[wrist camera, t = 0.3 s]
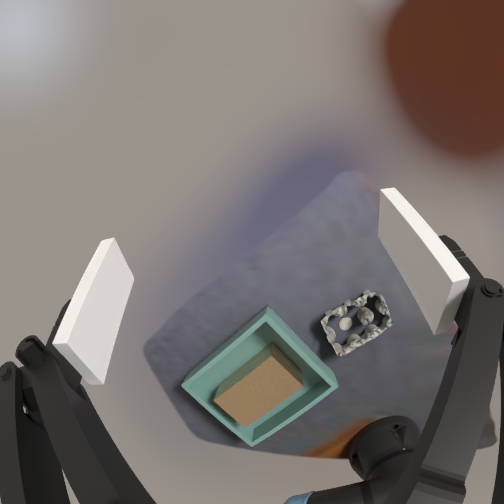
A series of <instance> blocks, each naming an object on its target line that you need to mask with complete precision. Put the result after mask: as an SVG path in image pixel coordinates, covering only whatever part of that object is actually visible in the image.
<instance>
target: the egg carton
mask: <svg viewBox="0 0 504 504" xmlns="http://www.w3.org/2000/svg"><path fill="white" fill-rule="evenodd" d="M362 294H363V297H359V298H358V299H357V300H355V301H352V302H351V301H350V300H348V301H346V302H344V305H343V306H340V307H338V308H337V309H335V310H334V311H331V310H329V311H327V312H325V315H326V316H325V317H324V318H323V319H322V320H321V324H322V325H323V327H324V331H325V333H326V334H327V339H328V341H329V343H331V344H332V343H333V342H334V341H335V339H336V334H335V332H334V330H333V329H332V328H331V327H325V326H326V325H327V322H328V318H329V317H330V316H331V315H335V316H337V317H341V316H343V315H346V313H347V307H346V306H351V303H352V306H356V307H361V306H364V305H365V304H366V303H367V297H371V298H372V297H373V295H374V296H378V299H377V300H376V302H375V308H376V309H377V310H378V311H379V312H380V313H382V314H383V315H386V316H385V317H384V318H383V320H382V325H380V326H378V327H377V326H376V325H374V324H371V325H368V324H369V323H371V322H372V321H373V318H374V315H373V312H372V311H370V310H369V309H368V308H366V307H362V308H360V309H359V311H358V313H357V317H358V319H359V320H360V321H361V323H362V324H363V325H364V326H367V325H368V326H367V327H366V328H365V333H364V334H363V335H361V336H360V337H359V336H358V335H357V334H352V335H350V336H349V337H348V338H347V343H346V344H345V345H342V346H341V345H340V344H338V343H335V344H332V346H333V348H334V350H335V352H336V354H337V356H338V357H341V356H342V355H346V354H347V353H349V352H352V351H353V350H355V349H356V348H357V347H358V346H361V345H363V344H365V343H366V342H368V341H370V340H372V339H374V338H376V337H377V336H378V335H380V334H381V333H382V332H383V331H384V330H386V328H387V327H390V326H392V325H393V322H392V320H391V317H390V314H389V311H388V308H387V305H386V303H385V300H384V298H383V295H382V293H381V292H380V291H377V292H373V293H371V292H370V291H368V290H366V291H364V292H363V293H362ZM351 326H352V320H351V319H350V318H347V317H345V318H342V319H341V320H340V322H339V327H340V329H342V330H348V329H350V328H351Z"/></svg>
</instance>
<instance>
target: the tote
mask: <svg viewBox="0 0 504 504" xmlns="http://www.w3.org/2000/svg"><path fill="white" fill-rule="evenodd" d="M272 341H273V342H274V343H275V344H276V345H277V346H278V347H279V348H280V349H281V350H282V351H283V352H284V353H285V354H286V355H287V356H288V357H289V358H290V359H291V360H292V361H293V362H294V363H295V364H296V365H297V366H298V367H299V368H300V369H301V371H302V379H303V387H302V388H301V389H299V390H298V391H297V392H296V393H294V394H293V395H291V396H290V397H289V398H287V399H286V400H285V401H283V402H282V403H281V404H279V405H278V406H276V407H275V408H274V409H272V410H271V411H269V412H268V413H266V414H265V415H264V416H262V417H261V418H259V419H258V420H256V421H255V422H253V423H252V424H250V425H249V426H247V427H246V428H244V427H243V426H242V425H241V424H240V423H238V422H237V421H236V420H235V419H234V418H233V417H231V416H230V415H229V414H228V413H227V412H226V411H224V410H223V409H222V408H221V407H220V406H219V405H218V404H217V403H215V402H214V401H213V400H214V398H215V395H216V393H217V390H218V388H219V385H220V383H221V382H222V381H224V380H225V379H226V378H228V377H229V376H230V375H231V374H233V373H234V372H235V371H236V370H238V369H239V368H240V367H241V366H243V365H244V364H245V363H246V362H248V361H249V360H250V359H251V358H253V357H254V356H255V355H256V354H258V353H259V352H260V351H261V350H262V349H264V348H265V347H266V346H267V345H268V344H270V343H271V342H272ZM181 386H182V387H183V388H184V389H185V390H186V391H187V392H188V393H189V394H190V395H191V396H192V397H193V398H195V399H196V400H197V401H198V402H199V403H200V404H201V405H202V406H203V407H204V408H206V409H207V410H208V411H209V412H210V413H211V414H212V415H214V416H215V417H216V418H217V419H218V420H219V421H220V422H222V423H223V424H224V425H225V426H226V427H228V428H229V429H230V430H231V431H232V432H234V433H235V434H236V435H237V436H239V437H240V438H241V439H242V440H243V441H245V442H246V443H247V444H249V445H250V446H251V447H253V446H254V445H256V444H257V443H259V442H261V441H262V440H264V439H265V438H267V437H269V436H270V435H272V434H273V433H275V432H276V431H278V430H279V429H281V428H282V427H284V426H285V425H287V424H288V423H290V422H291V421H293V420H294V419H296V418H297V417H298V416H300V415H301V414H303V413H304V412H305V411H307V410H308V409H310V408H311V407H312V406H314V405H315V404H316V403H318V402H319V401H320V400H322V399H323V398H324V397H326V396H327V395H328V394H330V393H331V392H332V391H334V390H335V389H336V388H337V387H339V386H338V383H337V381H336V378H335V375H334V373H333V372H332V371H331V370H330V369H329V368H328V367H327V365H326V364H325V363H324V362H323V361H322V360H321V359H320V358H319V357H318V356H317V355H316V354H315V353H314V352H313V351H312V350H311V349H310V348H309V347H308V346H307V345H306V344H305V343H304V342H303V341H302V340H301V339H300V338H299V337H298V336H297V335H296V334H295V333H294V332H293V331H292V330H291V329H290V328H289V327H288V326H287V325H286V324H285V323H284V322H283V321H282V320H281V319H280V318H279V316H278V315H277V314H276V313H275V312H274V311H273V310H272V309H271V308H270V307H269V306H268V305H267V306H266V307H265V308H264V309H263V310H261V311H260V312H259V313H258V314H257V315H256V316H255V317H253V318H252V319H251V320H250V321H249V322H248V323H247V324H245V325H244V326H243V327H242V328H241V329H240V330H239V331H237V332H236V333H235V334H234V335H233V336H232V337H230V338H229V339H228V340H227V341H226V342H225V343H223V344H222V345H221V346H220V347H219V348H218V349H216V350H215V351H214V352H213V353H212V354H210V355H209V356H208V357H207V358H206V359H205V360H203V361H202V362H201V363H200V364H199V365H197V366H196V367H195V368H194V369H192V370H191V371H190V372H189V373H188V375H187V376H186V378H185V379H184V381H183V383H182V384H181Z"/></svg>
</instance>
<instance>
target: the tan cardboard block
mask: <svg viewBox="0 0 504 504" xmlns="http://www.w3.org/2000/svg"><path fill="white" fill-rule="evenodd" d="M302 387H303V379H302V371H301V369H300V368H299V367H298V366H297V365H296V364H295V363H294V362H293V361H292V360H291V359H290V358H289V357H288V356H287V355H286V354H285V353H284V352H283V351H282V350H281V349H280V348H279V347H278V346H277V345H276V344H275V343H274V342H273V341H272V342H271V343H270V344H268V345H267V346H266V347H265V348H264V349H262V350H261V351H260V352H259V353H258V354H256V355H255V356H254V357H253V358H251V359H250V360H249V361H248V362H246V363H245V364H244V365H243V366H241V367H240V368H239V369H238V370H236V371H235V372H234V373H233V374H231V375H230V376H229V377H228V378H226V379H225V380H224V381H222V382H221V383H220V385H219V388H218V390H217V393H216V395H215V398H214V400H213V401H214V402H215V403H217V404H218V405H219V406H220V407H221V408H222V409H223V410H224V411H226V412H227V413H228V414H229V415H230V416H231V417H233V418H234V419H235V420H236V421H237V422H238V423H240V424H241V425H242V426H243V427H244V428H246V427H247V426H249V425H250V424H252V423H253V422H255V421H256V420H258V419H259V418H261V417H262V416H264V415H265V414H266V413H268V412H269V411H271V410H272V409H274V408H275V407H276V406H278V405H279V404H281V403H282V402H283V401H285V400H286V399H287V398H289V397H290V396H291V395H293V394H294V393H296V392H297V391H298V390H299V389H301V388H302Z"/></svg>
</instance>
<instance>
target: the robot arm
mask: <svg viewBox="0 0 504 504" xmlns="http://www.w3.org/2000/svg"><path fill="white" fill-rule="evenodd" d="M378 238H379V239H380V241H381V242H382V244H383V246H384V247H385V249H386V250H387V252H388V254H389V255H390V257H391V259H392V260H393V262H394V263H395V265H396V267H397V269H398V270H399V272H400V274H401V275H402V277H403V279H404V280H405V282H406V284H407V286H408V287H409V289H410V291H411V293H412V294H413V296H414V298H415V300H416V302H417V303H418V305H419V307H420V309H421V311H422V313H423V315H424V316H425V318H426V320H427V322H428V324H429V326H430V328H431V330H432V332H433V334H434V335H436V334H439V333H443V332H446V331H449V330H450V329H451V327H452V324H453V322H454V320H455V322H456V323H457V325H458V330H457V332H456V334H455V336H454V338H453V340H452V342H451V344H452V345H453V346H452V350H451V353H450V357H449V360H448V364H447V367H446V370H445V373H444V376H443V379H442V382H441V385H440V388H439V391H438V394H437V396H436V399H435V402H434V404H433V407H432V410H431V412H430V415H429V417H428V420H427V422H426V424H425V427H424V429H423V431H422V434H421V433H420V430H419V429H418V427H417V425H416V424H415V423H414V422H413V421H412V420H411V419H409V418H406V417H402V416H392V417H386V418H383V419H380V420H377V421H375V422H373V423H371V424H369V425H368V426H366V427H365V428H364V429H362V430H361V431H360V432H359V433H358V434H357V435H356V436H355V437H354V439H353V440H352V442H351V444H350V446H349V449H348V457H349V461H350V464H351V466H352V468H353V470H354V471H356V473H357V474H358V475H359V476H360V477H361V478H362V479H363V480H364V481H362V482H358V483H354V484H350V485H346V486H342V487H337V488H332V489H327V490H322V491H317V492H315V491H311V492H310V493H306V494H301V495H296V496H292V497H290V498H289V499H287V501H286V502H285V503H284V504H462V503H463V501H464V498H465V494H466V488H465V485H464V484H465V479H466V476H467V474H468V471H469V469H470V466H471V463H472V461H473V458H474V455H475V452H476V449H477V446H478V443H479V440H480V437H481V434H482V431H483V427H484V424H485V420H486V417H487V413H488V409H489V405H490V401H491V397H492V392H493V388H494V383H495V378H496V373H497V367H498V361H500V377H501V427H500V444H499V455H498V464H497V473H496V480H495V486H494V492H493V497H492V504H504V289H503V287H502V285H500V284H499V283H498V282H497V281H495V280H492V279H488V278H484V277H483V276H482V275H481V273H480V272H479V271H478V269H477V268H476V267H475V266H474V264H473V263H472V262H471V261H470V260H469V258H468V257H466V254H465V253H464V252H463V251H461V248H460V247H459V246H458V245H457V244H456V242H455V241H453V240H452V239H450V238H449V237H447V236H446V235H443V236H437V235H436V234H435V232H434V231H433V230H432V229H431V228H430V226H429V225H428V224H427V223H426V222H425V221H424V220H423V219H422V217H421V216H420V215H419V214H418V213H417V212H416V210H415V209H414V208H413V207H412V206H411V205H410V204H409V203H408V202H407V201H406V200H405V199H404V197H403V196H402V195H401V194H400V193H399V192H398V191H397V190H396V189H395V188H388V189H380V210H379V229H378ZM133 282H134V277H133V275H132V273H131V271H130V269H129V267H128V266H127V263H126V261H125V259H124V257H123V255H122V253H121V251H120V249H119V247H118V245H117V242H116V240H115V238H110V239H106V240H102V241H101V243H100V245H99V246H98V248H97V250H96V252H95V254H94V256H93V258H92V260H91V261H90V263H89V265H88V267H87V270H86V271H85V273H84V275H83V277H82V279H81V281H80V283H79V285H78V287H77V290H76V291H75V293H74V296H73V298H72V299H71V300H69V301H68V302H67V303H66V304H65V305H64V307H63V308H62V310H61V312H60V314H59V318H58V319H57V321H56V323H55V326H54V327H53V330H52V332H51V334H50V337H49V339H48V341H47V344H46V346H45V345H44V344H43V343H42V342H41V341H40V340H39V339H38V337H37V336H34V335H31V336H28V337H26V338H25V339H24V340H22V341H21V342H20V344H19V345H18V347H17V349H16V355H15V356H16V358H18V359H19V361H20V362H21V363H22V364H23V365H24V366H23V367H20V368H18V367H17V366H16V365H15V364H14V363H13V362H10V361H9V362H6V363H5V364H3V365H2V366H1V367H0V497H1V503H2V504H70V500H69V497H68V493H67V489H66V485H65V481H64V477H63V472H62V469H63V471H64V473H65V475H66V477H67V480H68V482H69V484H70V486H71V488H72V490H73V492H74V493H75V496H76V498H77V499H78V501H79V503H80V504H156V502H155V501H154V500H153V499H152V497H151V496H150V495H149V493H148V492H147V491H146V489H145V488H144V487H143V485H142V484H141V482H140V481H139V480H138V478H137V477H136V475H135V474H134V472H133V471H132V470H131V468H130V467H129V465H128V464H127V462H126V461H125V459H124V458H123V456H122V454H121V453H120V451H119V450H118V448H117V447H116V445H115V443H114V442H113V440H112V438H111V437H110V435H109V433H108V432H107V430H106V428H105V426H104V425H103V423H102V421H101V419H100V417H99V416H98V414H97V412H96V410H95V408H94V406H93V404H92V402H91V401H90V399H89V397H88V395H87V393H86V391H85V389H84V387H83V386H82V385H81V384H80V381H81V378H82V377H83V378H84V379H85V380H86V381H87V382H88V383H89V384H104V381H105V377H106V373H107V369H108V365H109V361H110V358H111V354H112V351H113V347H114V343H115V340H116V336H117V333H118V329H119V326H120V322H121V319H122V316H123V313H124V309H125V306H126V303H127V300H128V297H129V294H130V291H131V288H132V285H133ZM23 406H24V407H25V408H26V413H24V410H23ZM61 467H62V468H61Z"/></svg>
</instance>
